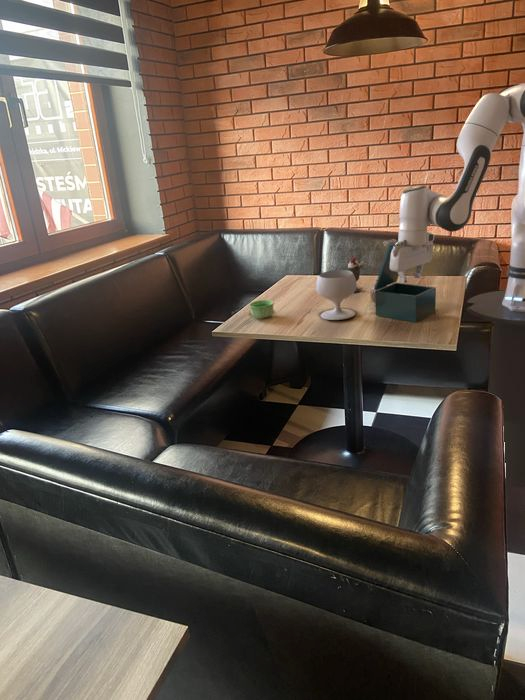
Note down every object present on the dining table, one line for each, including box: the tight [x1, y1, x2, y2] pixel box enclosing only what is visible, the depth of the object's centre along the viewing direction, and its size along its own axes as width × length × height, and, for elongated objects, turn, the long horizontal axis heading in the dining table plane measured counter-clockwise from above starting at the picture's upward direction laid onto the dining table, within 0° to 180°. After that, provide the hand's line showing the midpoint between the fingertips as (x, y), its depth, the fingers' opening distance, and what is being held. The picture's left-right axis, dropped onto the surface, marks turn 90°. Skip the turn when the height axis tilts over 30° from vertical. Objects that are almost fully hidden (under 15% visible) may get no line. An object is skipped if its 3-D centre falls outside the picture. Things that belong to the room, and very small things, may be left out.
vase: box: [369, 279, 386, 305], centre depth 197 cm, size 7×7×9 cm
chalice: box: [315, 269, 358, 321], centre depth 186 cm, size 14×14×15 cm
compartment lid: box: [375, 238, 399, 290], centre depth 183 cm, size 17×13×5 cm
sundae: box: [345, 254, 363, 293], centre depth 216 cm, size 7×7×15 cm
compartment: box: [375, 282, 437, 323], centre depth 183 cm, size 16×13×9 cm
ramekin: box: [248, 299, 274, 319], centre depth 197 cm, size 9×9×4 cm
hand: (410, 280), depth 178 cm, fingers open, 7 cm apart
